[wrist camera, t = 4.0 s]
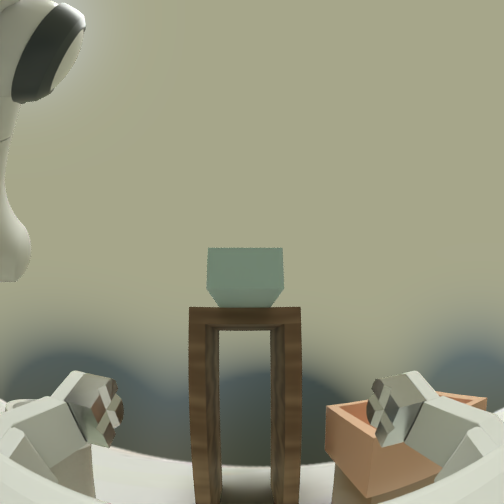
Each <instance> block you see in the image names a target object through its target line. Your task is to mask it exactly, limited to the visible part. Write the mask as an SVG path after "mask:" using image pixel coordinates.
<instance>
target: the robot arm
mask: <svg viewBox="0 0 504 504" xmlns="http://www.w3.org/2000/svg"><path fill="white" fill-rule="evenodd" d="M85 28H86V25H85V18H84V15H82V14H81V13H80V12H79V11H78V10H76V9H75V8H73V7H71V6H70V5H68V4H66V3H60V4H57V3H55V2H53V1H51V0H0V282H16V281H17V280H18V279H19V278H21V276H22V275H23V274H24V273H25V271H26V269H27V267H28V265H29V262H30V257H31V241H30V237H29V234H28V231H27V229H26V227H25V226H24V225H23V224H22V223H21V222H20V221H19V220H18V219H17V217H16V216H15V214H14V212H13V211H12V209H11V206H10V204H9V202H8V199H7V195H6V190H5V170H6V162H7V157H8V152H9V147H10V143H11V139H12V136H13V132H14V128H15V125H16V121H17V117H18V113H19V109H20V106H21V104H23V103H26V102H30V101H31V102H32V101H37V100H39V99H41V98H43V97H45V96H47V95H49V94H50V93H51V92H52V91H53V89H54V88H55V87H56V86H57V85H58V84H59V83H60V82H61V81H62V80H63V79H64V77H65V76H66V75H67V74H68V72H69V71H70V69H71V68H72V66H73V65H74V63H75V61H76V59H77V57H78V54H79V52H80V49H81V45H82V41H83V34H84V31H85ZM117 389H118V387H117V384H116V381H115V380H113V379H112V378H107V377H102V376H97V375H93V374H88V373H82V372H79V371H72V372H71V373H70V374H69V375H68V377H67V378H66V379H65V380H64V381H63V383H62V384H61V385H60V386H59V387H58V388H57V390H56V391H55V392H54V393H53V394H52V396H51V397H48V396H46V397H43V398H41V399H38V400H35V401H33V402H30V403H28V404H25V405H22V406H20V407H17V408H14V409H11V410H9V411H6V412H3V413H0V504H111V503H108V502H105V501H101V500H98V499H95V498H93V497H90V496H87V495H84V494H82V493H79V492H76V491H74V490H71V489H69V488H66V487H64V486H62V485H59V484H58V479H57V478H56V476H55V475H54V474H53V473H52V471H51V470H50V468H51V467H53V466H54V465H56V464H58V463H59V462H61V461H62V460H64V459H65V458H67V457H68V456H70V455H71V454H73V453H74V452H75V451H77V450H78V449H80V448H81V447H83V446H84V445H86V444H87V443H91V444H95V445H98V446H103V447H107V448H110V446H111V443H112V441H113V439H114V437H115V435H116V434H115V431H114V428H116V427H118V426H119V425H120V424H121V422H122V420H123V413H124V408H123V403H122V400H121V398H120V397H119V396H118V395H117V394H116V392H117ZM372 390H373V392H374V394H373V395H372V396H371V397H370V398H369V399H368V402H367V406H366V415H367V419H368V421H369V423H370V425H372V426H373V427H375V428H377V429H376V432H375V435H376V437H377V439H378V441H379V443H380V445H381V447H386V446H390V445H394V444H398V443H402V442H404V443H405V444H406V445H408V446H409V447H411V448H412V449H414V450H416V451H417V452H419V453H420V454H422V455H423V456H425V457H426V458H428V459H430V460H431V461H433V462H434V463H436V464H438V465H439V466H441V467H442V469H441V471H440V472H439V473H438V474H437V476H436V477H435V479H434V482H435V483H433V484H430V485H428V486H426V487H423V488H421V489H418V490H416V491H413V492H411V493H408V494H405V495H403V496H400V497H397V498H394V499H391V500H388V501H385V502H382V503H378V504H504V422H503V421H502V420H501V419H500V418H499V417H498V416H497V415H496V414H493V413H490V412H486V411H484V410H481V409H478V408H475V407H472V406H470V405H467V404H464V403H461V402H459V401H456V400H453V399H451V398H448V397H445V396H441V397H440V396H439V395H438V394H437V393H436V392H435V390H434V389H433V388H432V387H431V386H430V385H429V384H428V382H427V381H426V380H425V379H424V378H423V377H422V376H421V374H420V373H419V372H417V371H411V372H407V373H403V374H399V375H395V376H390V377H384V378H379V379H376V380H375V381H374V383H373V386H372ZM86 442H87V443H86Z"/></svg>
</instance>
